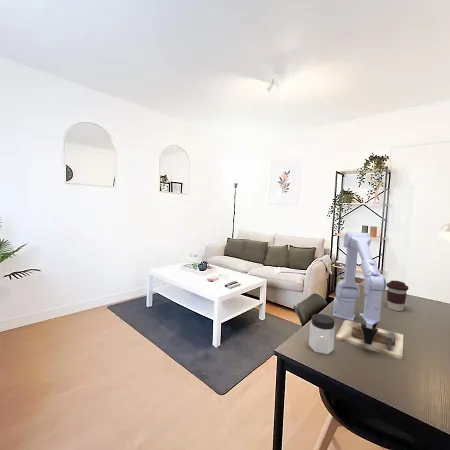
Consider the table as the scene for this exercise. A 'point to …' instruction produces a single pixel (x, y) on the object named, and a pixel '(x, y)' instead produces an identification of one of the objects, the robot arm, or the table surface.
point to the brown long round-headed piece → (377, 337)
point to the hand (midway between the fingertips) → (369, 338)
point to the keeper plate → (383, 348)
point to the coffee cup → (396, 295)
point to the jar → (322, 333)
